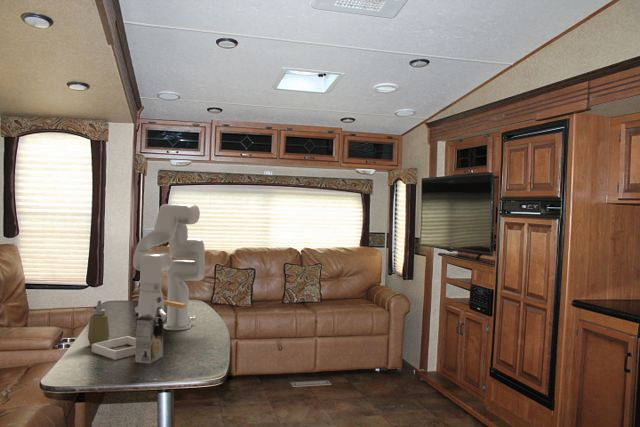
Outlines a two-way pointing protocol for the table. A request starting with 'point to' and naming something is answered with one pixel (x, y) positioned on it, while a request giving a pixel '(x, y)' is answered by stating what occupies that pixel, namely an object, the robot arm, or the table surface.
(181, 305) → the bar
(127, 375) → the table surface
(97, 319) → the squeeze bottle
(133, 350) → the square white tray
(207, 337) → the table surface
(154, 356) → the coffee box
